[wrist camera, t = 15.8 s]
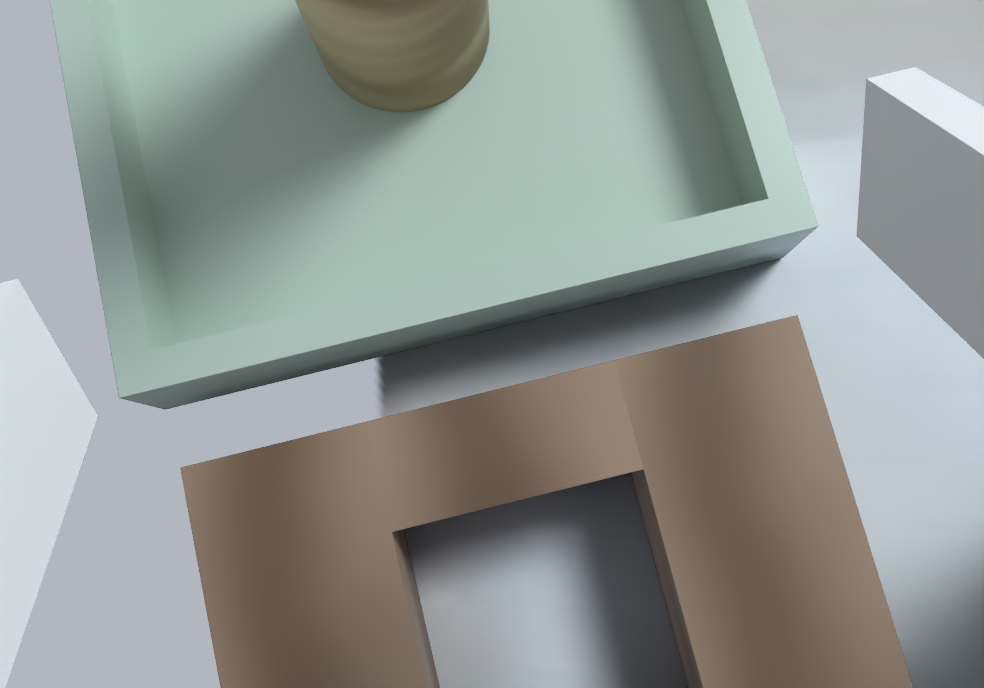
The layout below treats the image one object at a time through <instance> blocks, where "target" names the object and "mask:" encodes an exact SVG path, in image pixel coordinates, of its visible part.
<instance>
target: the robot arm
mask: <svg viewBox="0 0 984 688" xmlns="http://www.w3.org/2000/svg"><path fill="white" fill-rule="evenodd" d="M857 237H858V238H859V239H860V240H861V241H862V242H863V243H864V244H865V245H866V246H868V247H869V248H870V249H871V250H872V251H873V252H874V253H875V254H876V255H877V256H878V257H879V258H880V259H881V260H882V261H883V262H884V263H885V264H886V265H887V266H888V267H889V268H890V269H891V270H892V271H893V272H894V273H895V274H896V275H898V276H899V277H900V278H901V279H902V280H903V281H904V282H905V283H906V284H907V285H908V286H909V287H910V288H911V289H912V290H913V291H914V292H915V293H916V294H917V295H918V296H919V297H920V298H921V299H922V300H923V301H924V302H925V303H927V304H928V305H929V306H930V307H931V308H932V309H933V310H934V311H935V312H936V313H937V314H938V315H939V316H940V317H941V318H942V319H943V320H944V321H945V322H946V323H947V324H948V325H949V326H950V327H951V328H952V329H953V330H954V331H955V332H957V333H958V334H959V335H960V336H961V337H962V338H963V339H964V340H965V341H966V342H967V343H968V344H969V345H970V346H971V347H972V348H973V349H974V350H975V351H976V352H977V353H978V354H979V355H980V356H981V357H982V358H983V359H984V107H983V106H982V105H980V104H978V103H976V102H975V101H973V100H971V99H969V98H968V97H966V96H964V95H963V94H961V93H959V92H957V91H956V90H954V89H952V88H950V87H949V86H947V85H945V84H944V83H942V82H940V81H938V80H937V79H935V78H933V77H931V76H930V75H928V74H926V73H925V72H923V71H921V70H919V69H918V68H916V67H914V68H909V69H905V70H901V71H897V72H892V73H888V74H884V75H880V76H875V77H871V78H867V79H866V94H865V110H864V126H863V143H862V159H861V175H860V191H859V208H858V224H857ZM97 419H98V415H97V414H96V412H95V410H94V408H93V407H92V405H91V403H90V402H89V400H88V398H87V397H86V395H85V393H84V391H83V390H82V388H81V386H80V384H79V383H78V381H77V379H76V377H75V376H74V374H73V372H72V371H71V369H70V367H69V365H68V364H67V362H66V360H65V359H64V357H63V355H62V353H61V352H60V350H59V349H58V347H57V345H56V343H55V341H54V340H53V338H52V336H51V334H50V333H49V331H48V329H47V328H46V326H45V324H44V322H43V321H42V319H41V317H40V315H39V314H38V312H37V310H36V309H35V307H34V305H33V303H32V302H31V300H30V298H29V297H28V295H27V293H26V291H25V290H24V288H23V287H22V285H21V283H20V281H19V279H14V280H9V281H5V282H1V283H0V688H5V687H6V684H7V681H8V678H9V675H10V672H11V669H12V666H13V664H14V661H15V658H16V655H17V652H18V649H19V646H20V643H21V640H22V637H23V635H24V632H25V629H26V625H27V623H28V620H29V617H30V614H31V611H32V608H33V605H34V602H35V599H36V597H37V594H38V590H39V588H40V585H41V582H42V579H43V576H44V573H45V570H46V567H47V564H48V561H49V558H50V556H51V553H52V550H53V547H54V544H55V541H56V538H57V535H58V532H59V530H60V527H61V523H62V521H63V518H64V515H65V512H66V509H67V506H68V503H69V500H70V497H71V495H72V491H73V489H74V486H75V483H76V480H77V477H78V474H79V471H80V468H81V465H82V462H83V460H84V457H85V453H86V451H87V448H88V445H89V442H90V439H91V436H92V433H93V430H94V427H95V424H96V422H97Z"/></svg>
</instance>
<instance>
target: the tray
mask: <svg viewBox="0 0 984 688" xmlns="http://www.w3.org/2000/svg"><path fill="white" fill-rule="evenodd" d="M50 5H51V11H52V17H53V22H54V28H55V34H56V40H57V45H58V51H59V57H60V62H61V68H62V74H63V80H64V85H65V91H66V97H67V103H68V108H69V114H70V120H71V126H72V131H73V137H74V143H75V148H76V154H77V160H78V166H79V171H80V177H81V183H82V189H83V194H84V200H85V206H86V211H87V217H88V223H89V228H90V234H91V240H92V245H93V251H94V257H95V263H96V269H97V274H98V280H99V286H100V292H101V297H102V303H103V309H104V314H105V320H106V326H107V332H108V337H109V343H110V349H111V355H112V360H113V366H114V372H115V377H116V383H117V388H118V395H119V398H122V399H126V400H130V401H134V402H138V403H142V404H146V405H150V406H154V407H158V408H162V409H169V408H173V407H177V406H181V405H185V404H189V403H193V402H198V401H202V400H206V399H210V398H214V397H217V396H222V395H226V394H230V393H233V392H238V391H242V390H246V389H250V388H254V387H258V386H262V385H266V384H271V383H275V382H279V381H283V380H287V379H291V378H295V377H299V376H303V375H307V374H311V373H315V372H319V371H323V370H328V369H331V368H336V367H340V366H344V365H348V364H352V363H356V362H360V361H364V360H368V359H372V358H376V357H380V356H384V355H388V354H393V353H397V352H401V351H405V350H409V349H413V348H417V347H421V346H425V345H429V344H433V343H437V342H441V341H445V340H449V339H454V338H458V337H462V336H466V335H470V334H474V333H478V332H482V331H486V330H490V329H494V328H498V327H502V326H506V325H510V324H514V323H519V322H523V321H527V320H531V319H535V318H539V317H543V316H547V315H551V314H555V313H559V312H563V311H567V310H571V309H575V308H579V307H584V306H588V305H592V304H596V303H600V302H604V301H608V300H612V299H616V298H620V297H624V296H628V295H632V294H636V293H640V292H644V291H649V290H653V289H657V288H661V287H665V286H669V285H673V284H677V283H681V282H685V281H689V280H693V279H697V278H701V277H705V276H709V275H714V274H718V273H722V272H726V271H730V270H734V269H738V268H742V267H746V266H750V265H754V264H758V263H762V262H766V261H770V260H775V259H779V258H783V257H784V256H785V255H786V254H787V253H789V252H790V251H791V250H792V249H793V248H794V247H795V246H797V245H798V244H799V243H800V242H801V241H802V240H803V239H804V238H806V237H807V236H808V235H809V234H810V233H811V232H812V231H813V230H815V229H816V228H817V227H818V223H817V220H816V217H815V214H814V211H813V208H812V204H811V201H810V198H809V195H808V192H807V189H806V186H805V183H804V180H803V176H802V173H801V170H800V167H799V164H798V161H797V158H796V155H795V152H794V148H793V145H792V142H791V139H790V136H789V133H788V130H787V127H786V123H785V120H784V117H783V114H782V111H781V108H780V105H779V102H778V99H777V95H776V92H775V89H774V86H773V83H772V80H771V77H770V74H769V71H768V67H767V64H766V61H765V58H764V55H763V52H762V49H761V46H760V43H759V39H758V36H757V33H756V30H755V27H754V24H753V21H752V18H751V14H750V11H749V8H748V5H747V2H746V0H488V8H489V28H490V33H489V42H488V47H487V51H486V54H485V57H484V59H483V62H482V64H481V65H480V67H479V69H478V71H477V72H476V74H475V75H474V77H473V78H472V79H471V81H470V82H469V83H468V84H467V85H466V86H465V87H464V88H463V89H462V90H460V91H459V92H458V93H457V94H455V95H454V96H453V97H451V98H449V99H448V100H446V101H444V102H442V103H440V104H438V105H436V106H433V107H430V108H427V109H423V110H418V111H413V112H389V111H384V110H378V109H375V108H372V107H369V106H366V105H364V104H362V103H360V102H358V101H356V100H355V99H353V98H352V97H350V96H349V95H347V94H346V93H345V92H344V91H343V90H341V89H340V88H339V87H338V86H337V84H336V83H335V82H334V81H333V80H332V78H331V77H330V75H329V74H328V72H327V71H326V69H325V67H324V65H323V62H322V60H321V58H320V56H319V53H318V51H317V49H316V47H315V44H314V42H313V40H312V38H311V35H310V33H309V31H308V29H307V26H306V24H305V22H304V19H303V17H302V15H301V13H300V10H299V8H298V6H297V4H296V1H295V0H50Z"/></svg>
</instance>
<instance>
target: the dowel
mask: <svg viewBox="0 0 984 688" xmlns="http://www.w3.org/2000/svg"><path fill="white" fill-rule="evenodd" d="M295 1H296V4H297V6H298V8H299V10H300V13H301V15H302V17H303V19H304V22H305V24H306V26H307V29H308V31H309V33H310V35H311V38H312V40H313V42H314V44H315V47H316V49H317V51H318V53H319V56H320V58H321V60H322V62H323V65H324V67H325V69H326V71H327V72H328V74H329V75H330V77H331V78H332V80H333V81H334V82H335V83H336V84H337V86H338V87H339V88H340V89H341V90H343V91H344V92H345V93H346V94H347V95H349V96H350V97H352V98H353V99H355V100H356V101H358V102H360V103H362V104H364V105H366V106H369V107H372V108H375V109H378V110H384V111H389V112H413V111H418V110H423V109H427V108H430V107H433V106H436V105H438V104H440V103H442V102H444V101H446V100H448V99H449V98H451V97H453V96H454V95H455V94H457V93H458V92H459V91H460V90H462V89H463V88H464V87H465V86H466V85H467V84H468V83H469V82H470V81H471V79H472V78H473V77H474V75H475V74H476V72H477V71H478V69H479V67H480V65H481V64H482V62H483V59H484V57H485V54H486V51H487V47H488V42H489V33H490V28H489V8H488V0H295Z"/></svg>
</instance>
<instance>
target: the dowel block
mask: <svg viewBox="0 0 984 688" xmlns="http://www.w3.org/2000/svg"><path fill="white" fill-rule="evenodd" d="M180 469H181V474H182V479H183V485H184V490H185V495H186V501H187V507H188V512H189V517H190V523H191V528H192V534H193V539H194V545H195V550H196V556H197V560H198V566H199V572H200V577H201V582H202V588H203V593H204V599H205V604H206V610H207V615H208V621H209V626H210V631H211V637H212V642H213V648H214V653H215V659H216V664H217V670H218V675H219V680H220V686H221V688H440V687H439V683H438V679H437V674H436V670H435V665H434V661H433V656H432V652H431V647H430V643H429V638H428V634H427V629H426V625H425V621H424V616H423V612H422V607H421V603H420V598H419V594H418V589H417V585H416V580H415V576H414V572H413V567H412V563H411V558H410V554H409V549H408V545H407V540H406V536H405V531H404V529H406V528H410V527H414V526H418V525H422V524H426V523H430V522H434V521H438V520H442V519H446V518H450V517H454V516H458V515H462V514H466V513H470V512H474V511H478V510H482V509H486V508H490V507H494V506H498V505H502V504H506V503H510V502H514V501H518V500H522V499H526V498H530V497H534V496H538V495H542V494H546V493H550V492H554V491H558V490H562V489H566V488H570V487H574V486H578V485H582V484H586V483H590V482H594V481H598V480H602V479H606V478H610V477H614V476H618V475H622V474H626V473H630V472H631V476H632V479H633V483H634V487H635V490H636V494H637V498H638V501H639V505H640V509H641V513H642V516H643V520H644V524H645V527H646V531H647V535H648V539H649V542H650V546H651V550H652V553H653V557H654V561H655V564H656V568H657V572H658V576H659V579H660V583H661V587H662V590H663V594H664V598H665V601H666V605H667V609H668V613H669V616H670V620H671V624H672V627H673V631H674V635H675V638H676V642H677V646H678V650H679V653H680V657H681V661H682V664H683V668H684V672H685V676H686V679H687V683H688V687H689V688H913V685H912V681H911V678H910V675H909V672H908V669H907V665H906V662H905V659H904V656H903V653H902V649H901V646H900V643H899V640H898V637H897V633H896V630H895V627H894V624H893V620H892V617H891V614H890V611H889V608H888V604H887V601H886V598H885V595H884V592H883V588H882V585H881V582H880V579H879V575H878V572H877V569H876V566H875V563H874V559H873V556H872V553H871V550H870V547H869V543H868V540H867V537H866V534H865V531H864V527H863V524H862V521H861V518H860V514H859V511H858V508H857V505H856V502H855V498H854V495H853V492H852V489H851V486H850V482H849V479H848V476H847V473H846V469H845V466H844V463H843V460H842V457H841V453H840V450H839V447H838V444H837V441H836V437H835V434H834V431H833V428H832V425H831V421H830V418H829V415H828V412H827V408H826V405H825V402H824V399H823V396H822V392H821V389H820V386H819V383H818V380H817V376H816V373H815V370H814V367H813V363H812V360H811V357H810V354H809V351H808V347H807V344H806V341H805V338H804V335H803V331H802V328H801V325H800V322H799V319H798V315H796V316H792V317H788V318H784V319H780V320H776V321H771V322H767V323H763V324H759V325H755V326H751V327H747V328H743V329H739V330H735V331H731V332H727V333H723V334H719V335H715V336H711V337H707V338H703V339H699V340H695V341H691V342H687V343H683V344H678V345H674V346H670V347H666V348H662V349H658V350H654V351H650V352H646V353H642V354H638V355H634V356H630V357H626V358H622V359H618V360H614V361H610V362H606V363H602V364H598V365H594V366H590V367H586V368H581V369H577V370H573V371H569V372H565V373H561V374H557V375H553V376H549V377H545V378H541V379H537V380H533V381H529V382H525V383H521V384H517V385H513V386H509V387H505V388H501V389H497V390H493V391H488V392H484V393H480V394H476V395H472V396H468V397H464V398H460V399H456V400H452V401H448V402H444V403H440V404H436V405H432V406H428V407H424V408H420V409H416V410H412V411H408V412H404V413H400V414H396V415H391V416H387V417H383V418H379V419H375V420H371V421H367V422H363V423H360V424H356V425H352V426H347V427H343V428H339V429H335V430H331V431H327V432H323V433H319V434H315V435H311V436H307V437H303V438H299V439H295V440H290V441H286V442H282V443H278V444H274V445H270V446H266V447H262V448H258V449H254V450H250V451H246V452H242V453H238V454H234V455H230V456H226V457H222V458H218V459H214V460H210V461H206V462H201V463H198V464H193V465H190V466H185V467H181V468H180Z"/></svg>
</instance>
